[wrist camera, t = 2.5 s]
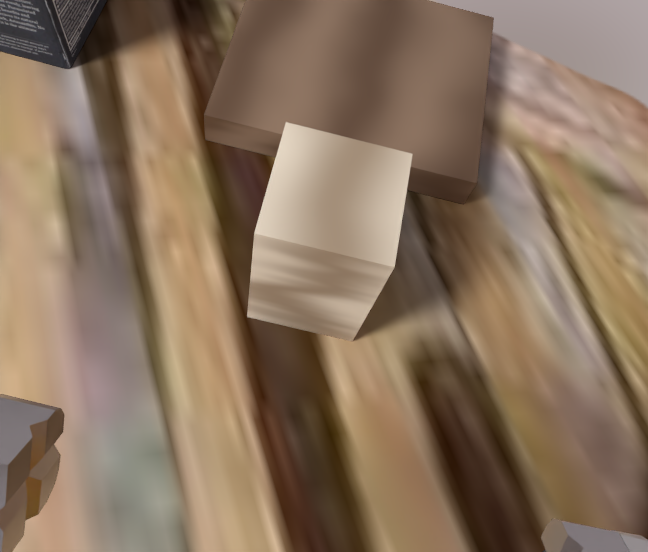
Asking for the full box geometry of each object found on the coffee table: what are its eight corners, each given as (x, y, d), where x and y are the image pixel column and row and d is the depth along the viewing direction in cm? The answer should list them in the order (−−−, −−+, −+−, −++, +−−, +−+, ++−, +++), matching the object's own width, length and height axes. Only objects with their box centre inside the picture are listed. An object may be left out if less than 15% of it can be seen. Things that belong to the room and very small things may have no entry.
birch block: (247, 316, 28) (254, 233, 21) (271, 225, 31) (285, 122, 23) (352, 341, 29) (394, 267, 21) (369, 249, 31) (412, 153, 24)
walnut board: (205, 139, 32) (204, 114, 30) (259, -15, 37) (261, -44, 36) (463, 204, 33) (477, 183, 31) (481, 43, 38) (493, 17, 36)
